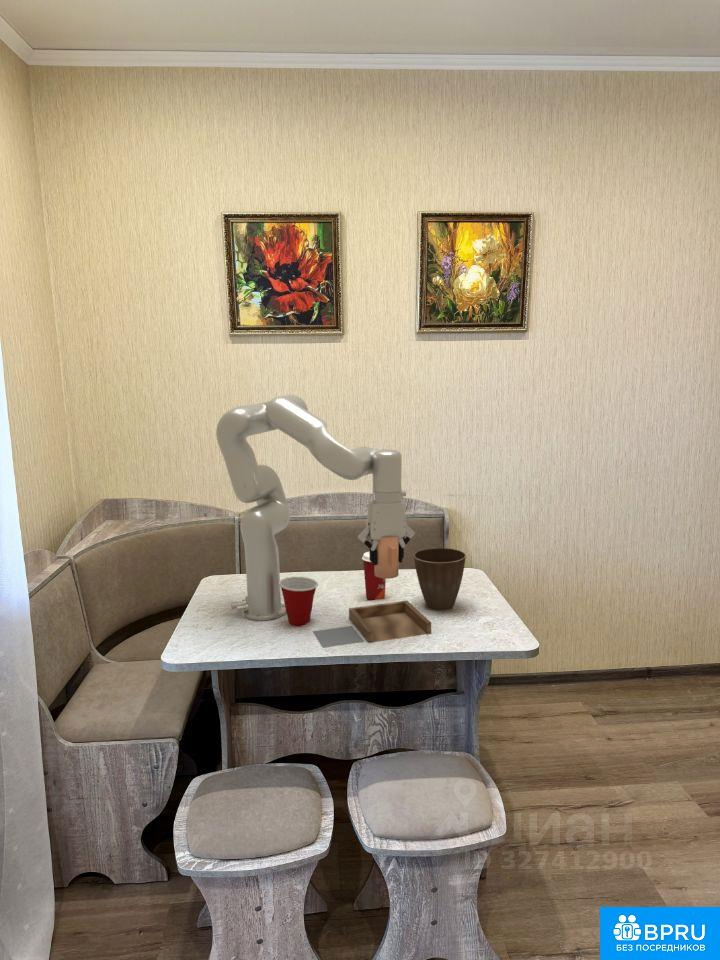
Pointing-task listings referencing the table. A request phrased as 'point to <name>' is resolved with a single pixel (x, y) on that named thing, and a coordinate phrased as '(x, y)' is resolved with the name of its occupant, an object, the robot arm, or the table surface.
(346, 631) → the coaster
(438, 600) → the plant pot
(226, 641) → the table surface
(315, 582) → the plastic cup
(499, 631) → the table surface
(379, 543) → the tan tapered cylinder
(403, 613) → the brown tray
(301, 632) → the table surface
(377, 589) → the paper cup
